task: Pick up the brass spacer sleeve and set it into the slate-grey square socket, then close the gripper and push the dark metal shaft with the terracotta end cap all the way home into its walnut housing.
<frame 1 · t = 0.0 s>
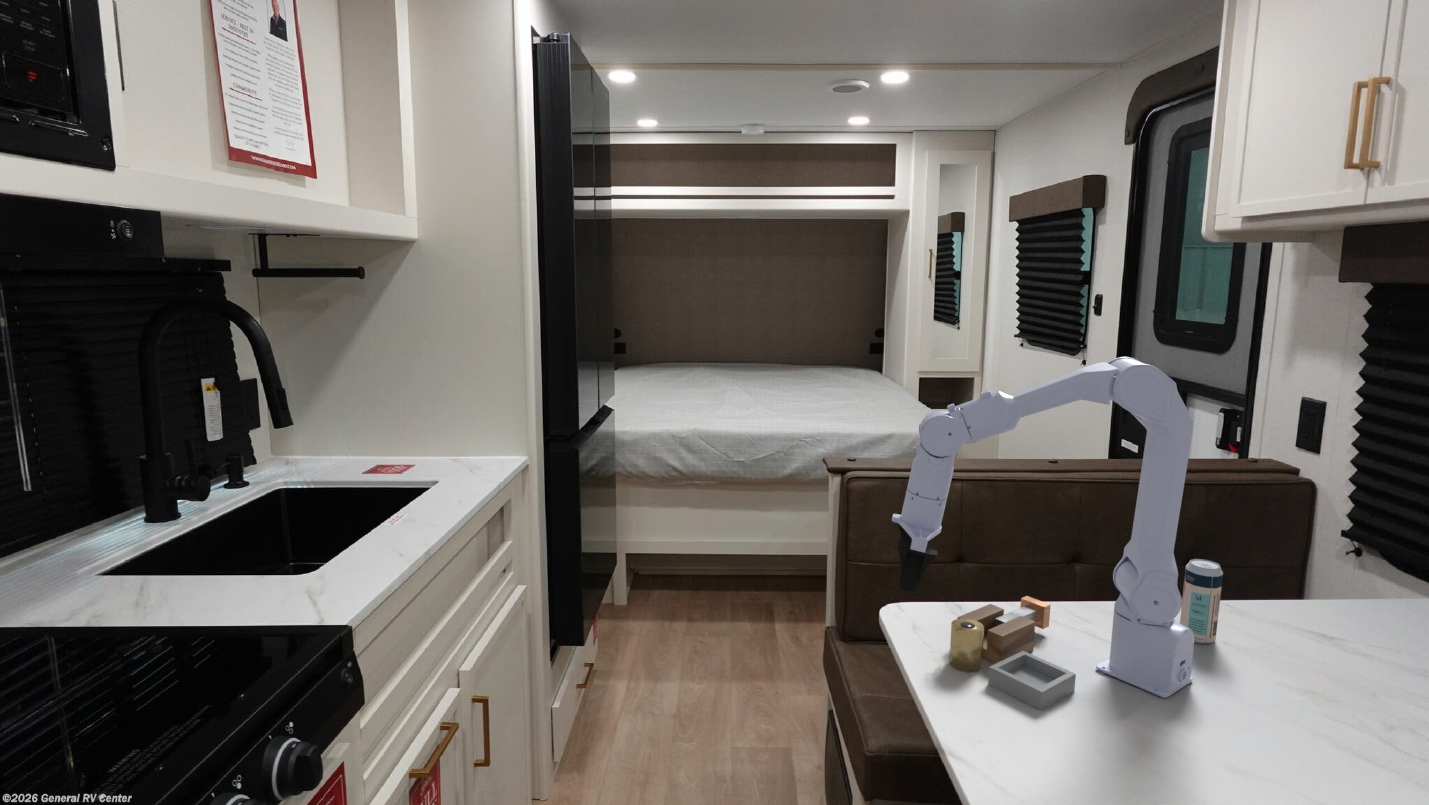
hand: (907, 579, 113), 11 cm above the table, tool pointing down, fingers open, 7 cm apart
beer can: (1196, 639, 117), on the table
shaft: (1019, 618, 116), point 3 cm above the table, slide at 5.0 cm
socket: (1030, 687, 103), on the table
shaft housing: (994, 648, 114), on the table
spacer: (965, 664, 109), on the table
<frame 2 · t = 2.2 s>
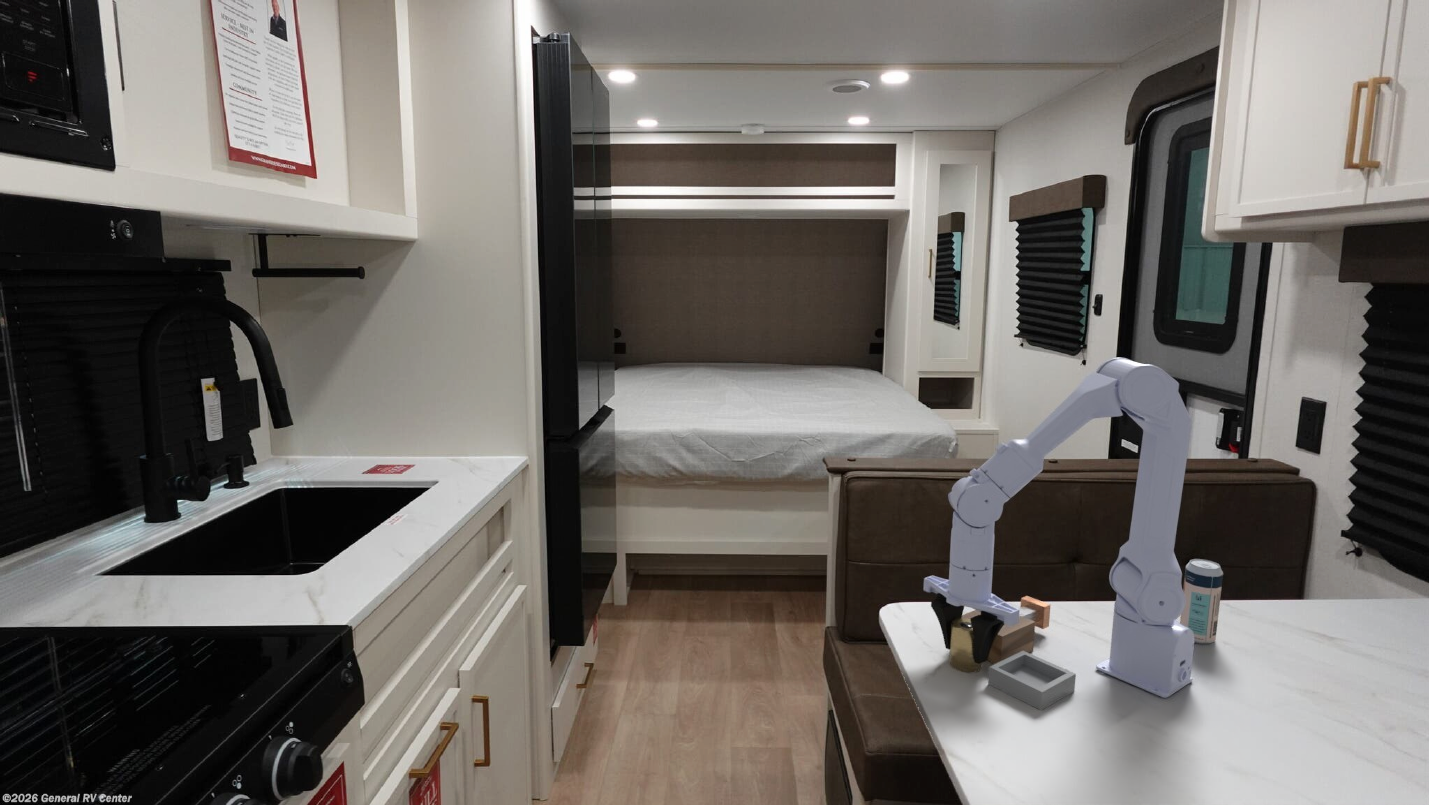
hand: (966, 654, 109), 2 cm above the table, tool pointing down, fingers closed on spacer, 4 cm apart
spacer: (965, 664, 109), on the table, touching gripper
everything else where it was.
when the fingers open (4 cm above the table, at t = 5.5 s): spacer drops 1 cm, resting on socket.
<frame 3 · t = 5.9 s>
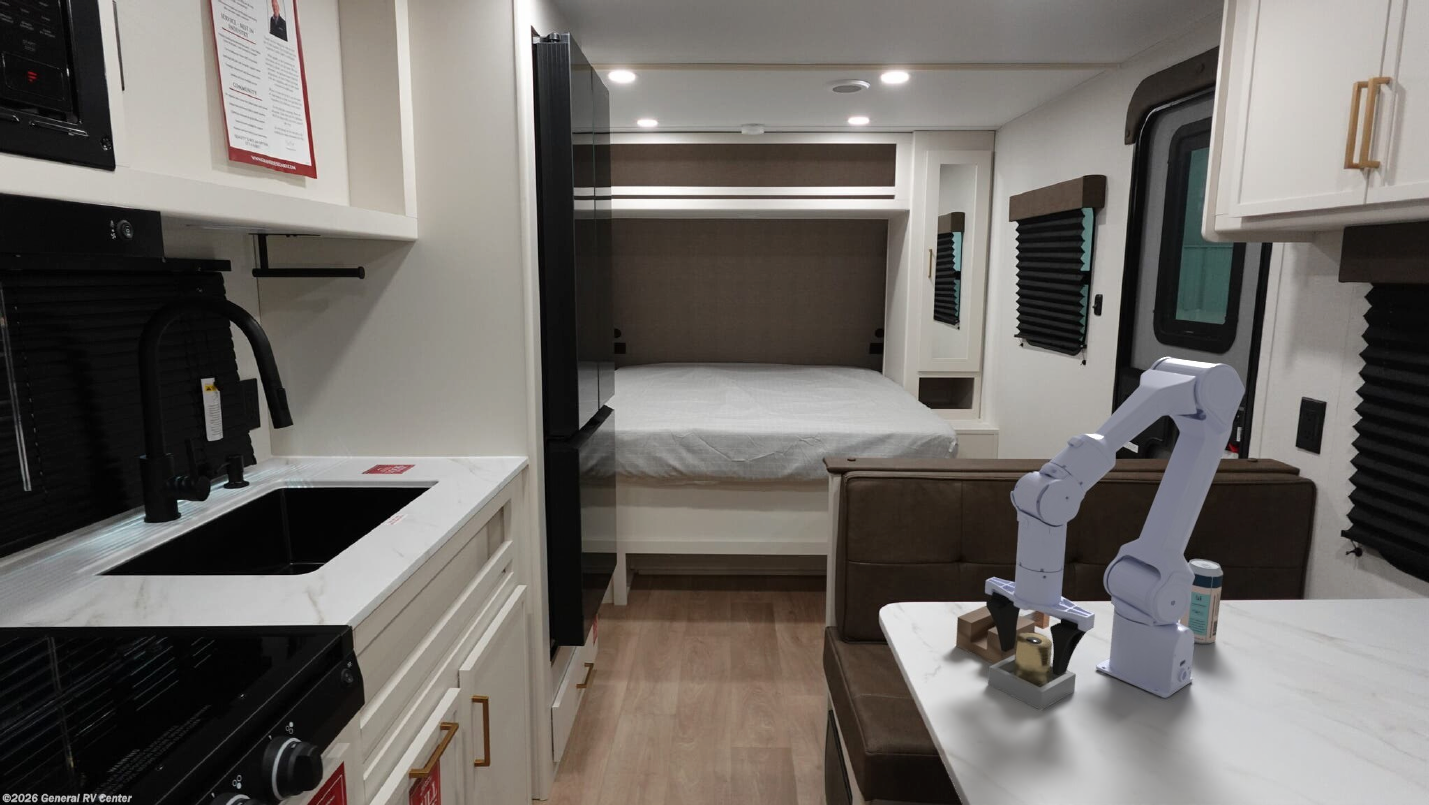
hand: (1032, 660, 102), 4 cm above the table, tool pointing down, fingers open, 7 cm apart
spacer: (1030, 682, 103), point 1 cm above the table, touching socket
everything else where it was.
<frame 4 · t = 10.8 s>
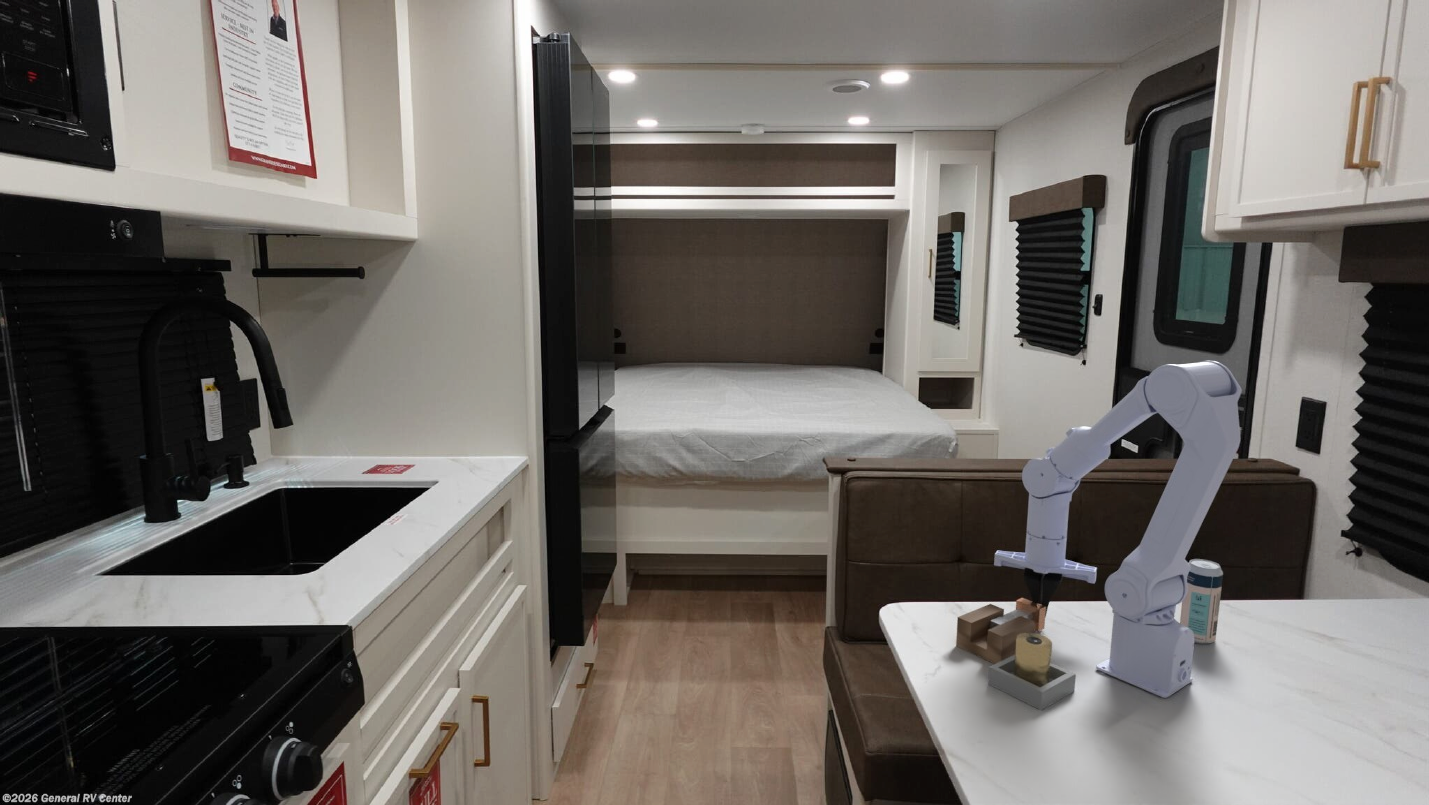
hand: (1040, 616, 120), 2 cm above the table, tool pointing down, fingers closed
shaft: (1014, 621, 116), point 3 cm above the table, slide at 3.7 cm
everything else where it was.
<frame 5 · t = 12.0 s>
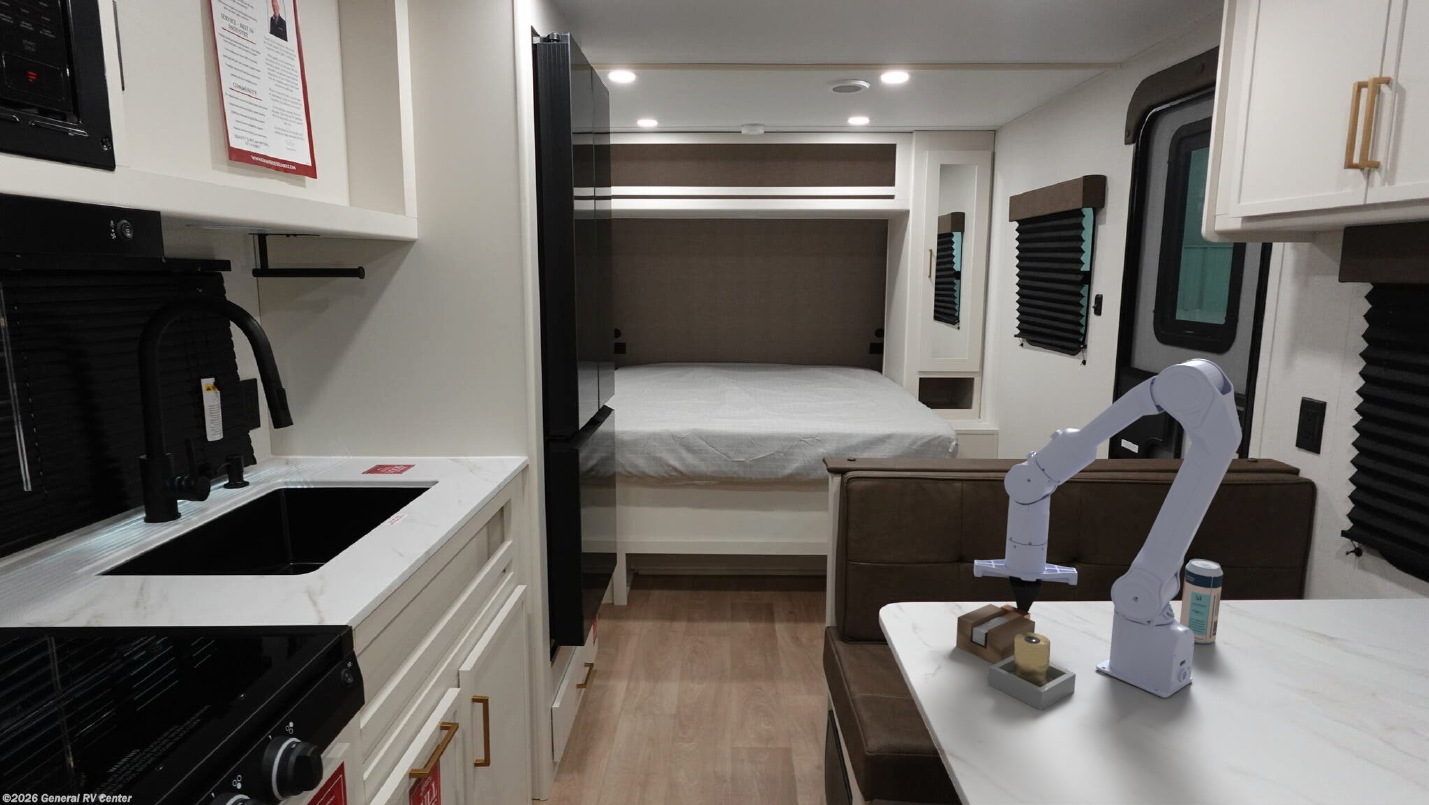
hand: (1020, 622, 117), 2 cm above the table, tool pointing down, fingers closed, pressing on shaft
shaft: (998, 628, 113), point 3 cm above the table, slide at -0.3 cm, touching gripper, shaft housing
everything else where it was.
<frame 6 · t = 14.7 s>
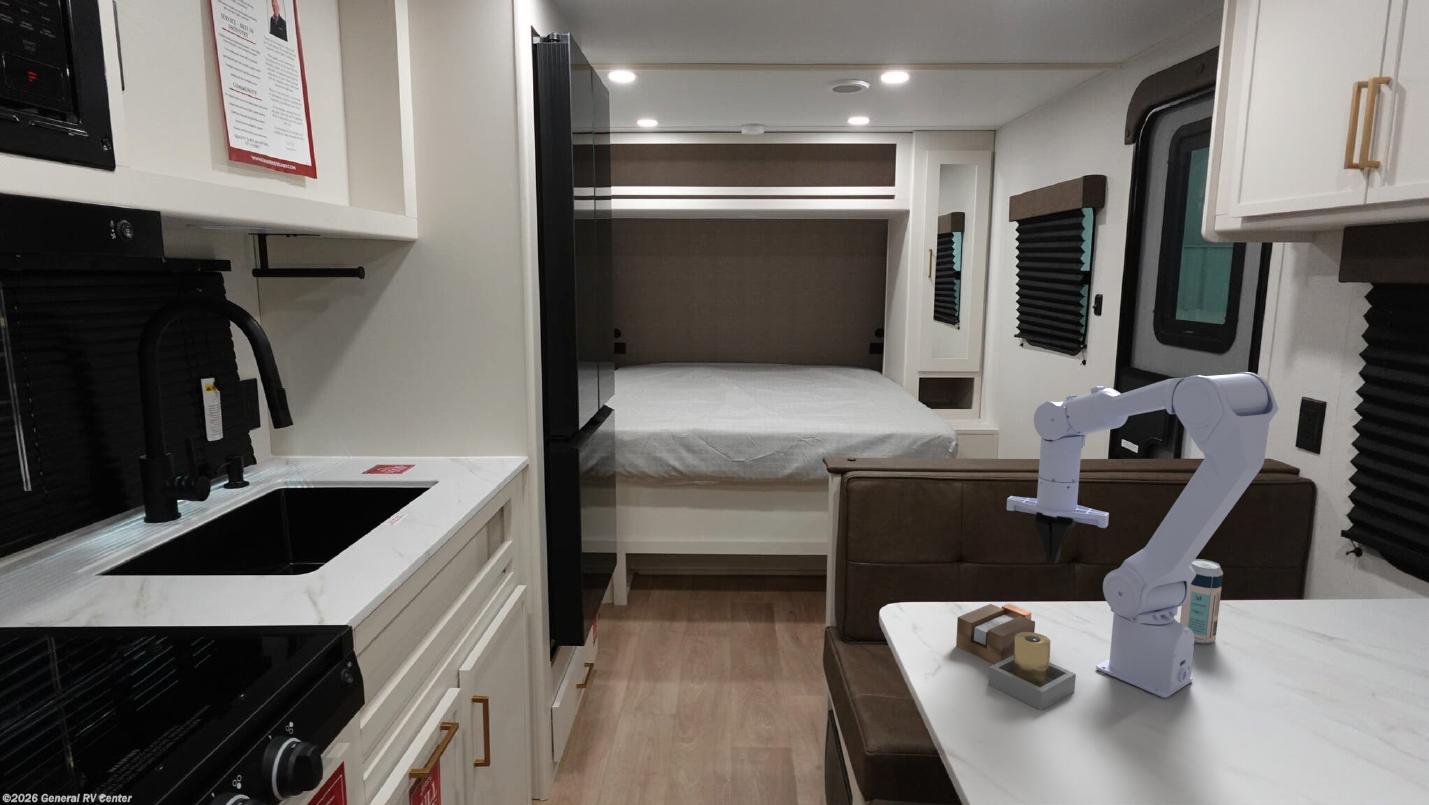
hand: (1052, 561, 120), 10 cm above the table, tool pointing down, fingers closed
shaft: (999, 627, 114), point 3 cm above the table, slide at 0.0 cm
everything else where it was.
at the end: spacer 0.0 cm off-centre on the socket, point 0.9 cm above the socket's base; spacer tilted 2°; shaft slide at 0.0 cm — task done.
